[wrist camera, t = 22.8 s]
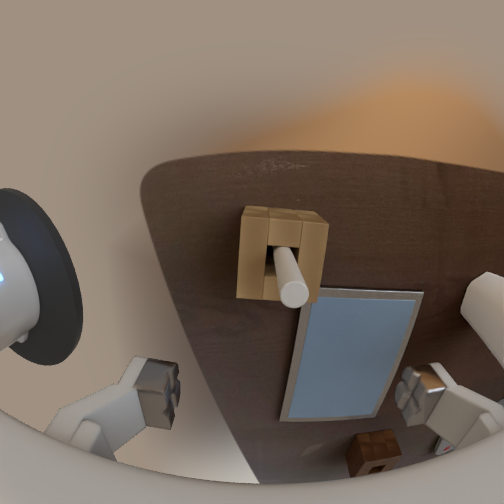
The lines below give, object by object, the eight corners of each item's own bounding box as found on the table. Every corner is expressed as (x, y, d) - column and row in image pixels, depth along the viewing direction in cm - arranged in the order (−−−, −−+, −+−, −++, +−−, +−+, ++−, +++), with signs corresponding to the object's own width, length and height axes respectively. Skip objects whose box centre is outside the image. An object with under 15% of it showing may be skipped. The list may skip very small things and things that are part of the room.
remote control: (505, 411, 37) (509, 417, 35) (431, 452, 39) (434, 459, 36) (516, 388, 35) (521, 394, 33) (440, 431, 36) (445, 439, 34)
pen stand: (344, 454, 37) (351, 481, 31) (356, 433, 35) (364, 462, 29) (378, 450, 37) (386, 475, 31) (391, 428, 35) (402, 455, 29)
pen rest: (241, 271, 28) (236, 298, 22) (245, 205, 26) (241, 216, 20) (306, 276, 28) (317, 303, 22) (314, 211, 26) (329, 224, 20)
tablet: (278, 417, 34) (279, 422, 33) (303, 283, 28) (304, 287, 27) (373, 413, 34) (375, 417, 33) (421, 289, 28) (424, 292, 27)
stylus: (270, 247, 27) (278, 307, 14) (272, 233, 27) (281, 280, 13) (285, 249, 27) (307, 309, 14) (287, 234, 27) (310, 282, 13)
